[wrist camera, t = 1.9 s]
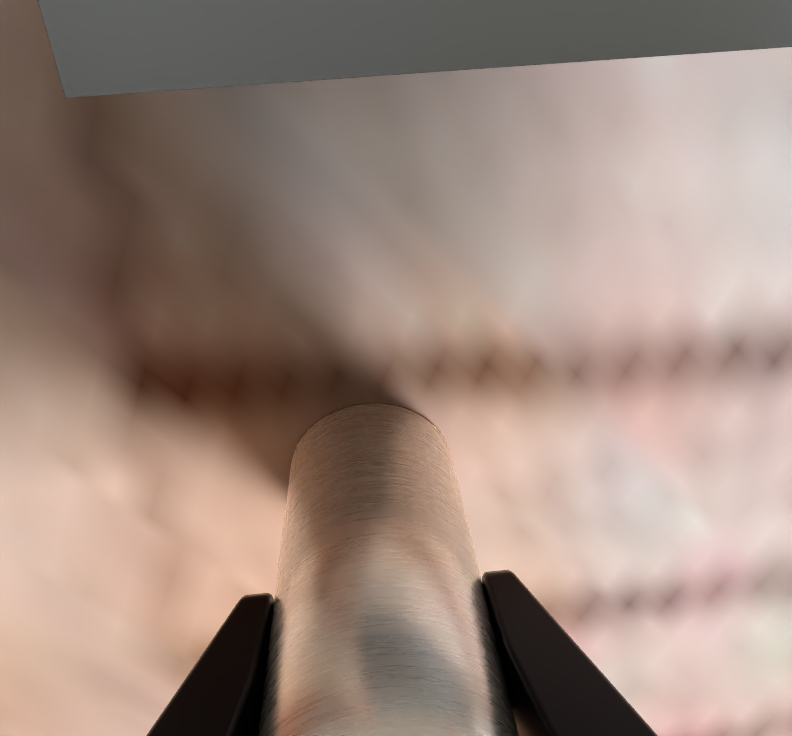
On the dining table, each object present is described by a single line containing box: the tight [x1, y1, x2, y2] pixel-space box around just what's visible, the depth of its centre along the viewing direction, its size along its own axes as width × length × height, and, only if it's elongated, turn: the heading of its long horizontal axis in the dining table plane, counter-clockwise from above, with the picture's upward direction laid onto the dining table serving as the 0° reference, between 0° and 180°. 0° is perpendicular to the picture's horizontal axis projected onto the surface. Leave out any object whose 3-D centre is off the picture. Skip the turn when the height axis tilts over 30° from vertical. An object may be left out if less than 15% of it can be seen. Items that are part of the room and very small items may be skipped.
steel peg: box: [258, 403, 519, 736], centre depth 8 cm, size 3×3×9 cm
